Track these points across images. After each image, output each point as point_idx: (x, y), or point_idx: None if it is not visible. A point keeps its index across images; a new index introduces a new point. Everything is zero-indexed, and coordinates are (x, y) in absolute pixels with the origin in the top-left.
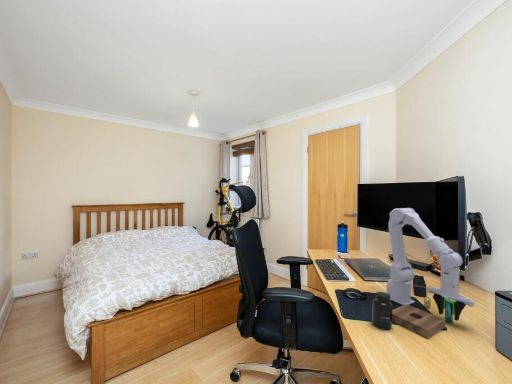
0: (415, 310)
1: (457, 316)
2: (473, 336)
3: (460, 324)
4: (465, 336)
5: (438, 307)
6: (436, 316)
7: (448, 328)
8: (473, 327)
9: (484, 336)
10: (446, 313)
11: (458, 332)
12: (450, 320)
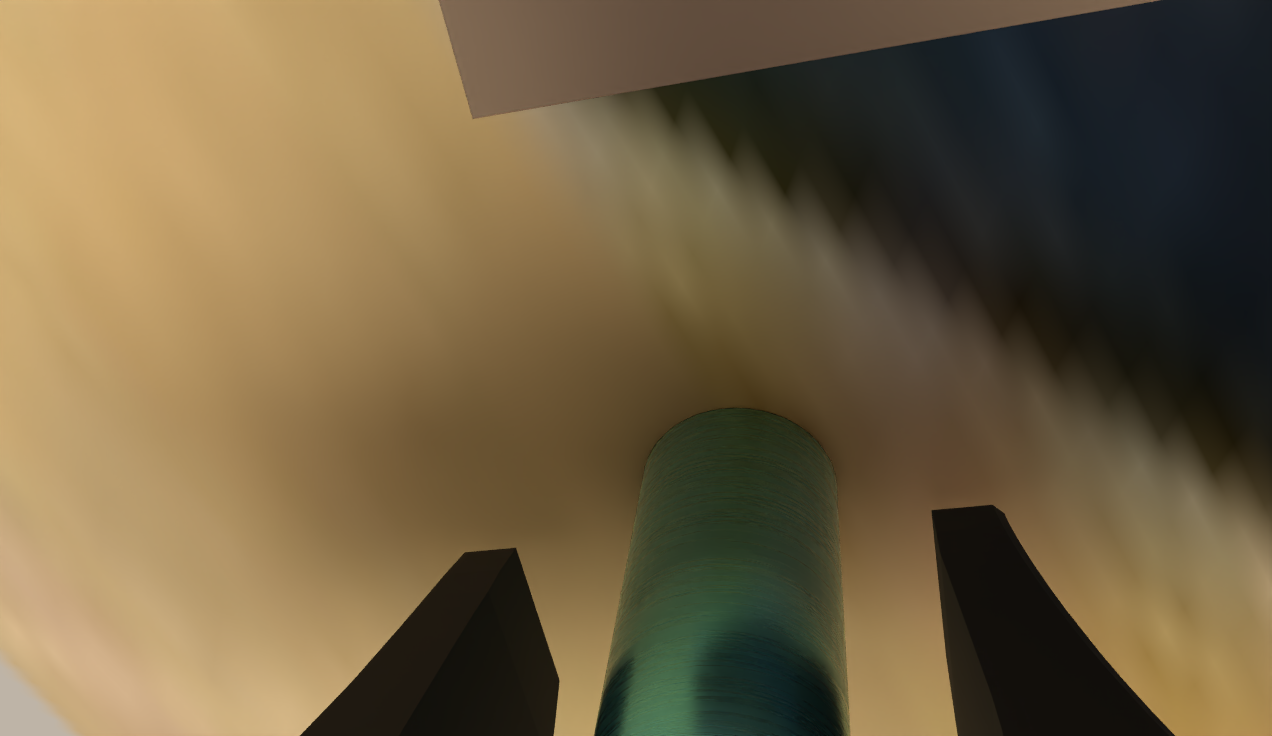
0: None
1: (369, 664)
2: (6, 317)
3: None
4: (9, 96)
5: (1063, 670)
6: (819, 9)
7: None
8: None
9: (3, 552)
10: (743, 610)
11: (219, 132)
12: (646, 498)
